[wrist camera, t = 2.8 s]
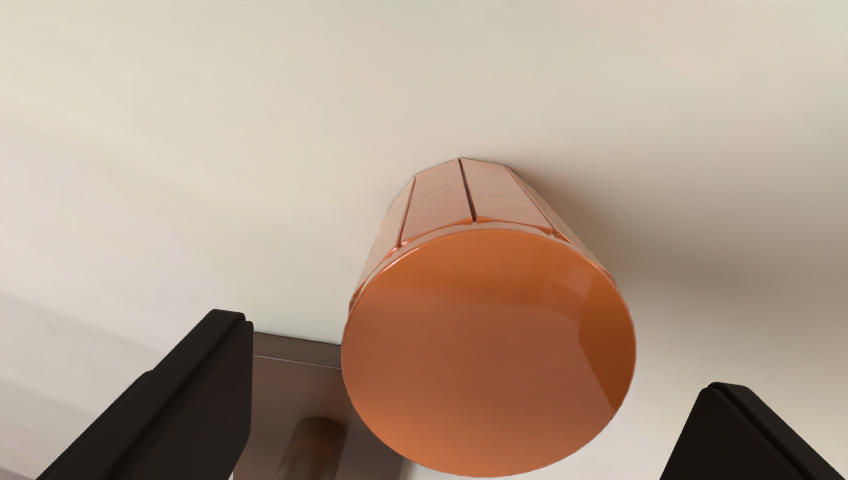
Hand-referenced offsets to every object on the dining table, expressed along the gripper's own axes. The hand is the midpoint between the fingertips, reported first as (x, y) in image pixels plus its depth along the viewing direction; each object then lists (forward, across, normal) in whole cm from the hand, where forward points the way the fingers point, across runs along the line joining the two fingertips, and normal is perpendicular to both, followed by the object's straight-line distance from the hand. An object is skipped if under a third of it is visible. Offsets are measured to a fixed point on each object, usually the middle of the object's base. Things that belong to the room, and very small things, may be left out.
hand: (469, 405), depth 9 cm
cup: (+10, -1, 0) cm, 10 cm away
